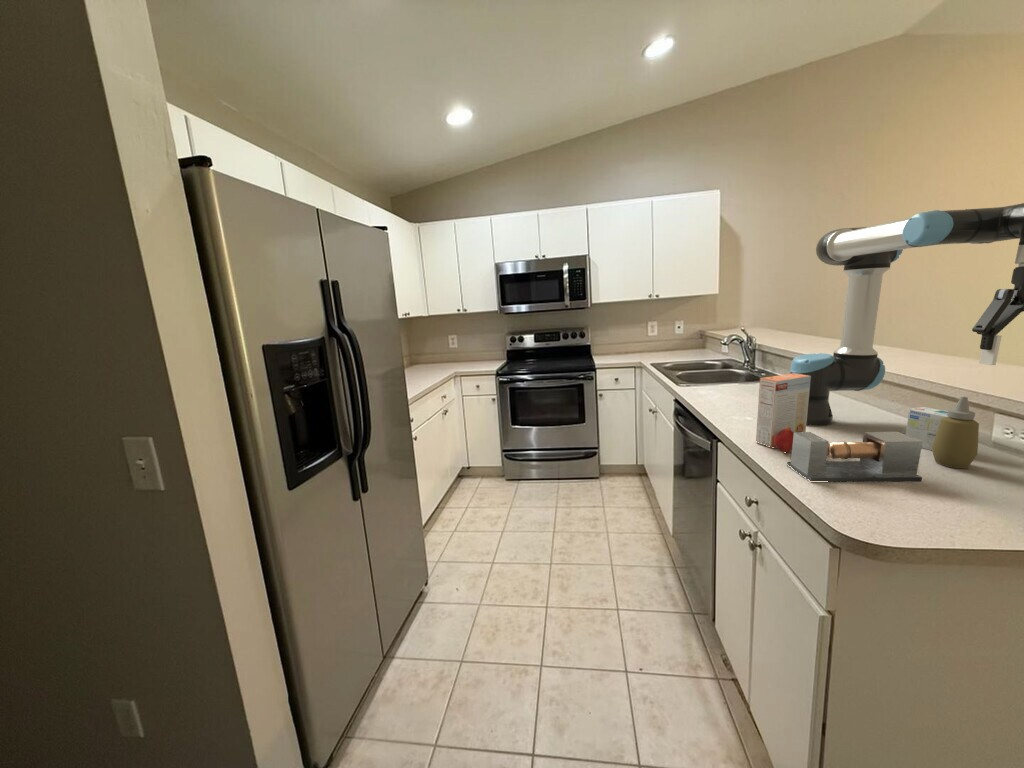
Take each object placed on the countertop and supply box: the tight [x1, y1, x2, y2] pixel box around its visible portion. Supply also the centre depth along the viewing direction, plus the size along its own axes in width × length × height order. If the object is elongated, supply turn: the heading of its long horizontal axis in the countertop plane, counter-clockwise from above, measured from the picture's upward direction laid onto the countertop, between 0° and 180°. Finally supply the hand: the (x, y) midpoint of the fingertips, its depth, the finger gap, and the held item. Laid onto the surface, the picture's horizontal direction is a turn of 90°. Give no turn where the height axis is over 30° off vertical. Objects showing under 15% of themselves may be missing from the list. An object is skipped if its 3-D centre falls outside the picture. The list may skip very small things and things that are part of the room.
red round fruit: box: [774, 427, 794, 454], centre depth 116 cm, size 6×6×8 cm
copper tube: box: [827, 441, 882, 460], centre depth 101 cm, size 4×18×4 cm, turn 85°
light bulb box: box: [905, 406, 948, 451], centre depth 115 cm, size 11×7×11 cm, turn 17°
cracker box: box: [755, 373, 811, 448], centre depth 123 cm, size 14×6×21 cm, turn 108°
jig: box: [786, 431, 923, 483], centre depth 101 cm, size 10×25×10 cm, turn 85°
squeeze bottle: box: [931, 396, 980, 469], centre depth 103 cm, size 8×8×18 cm
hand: (1020, 363), depth 90 cm, fingers open, 13 cm apart
